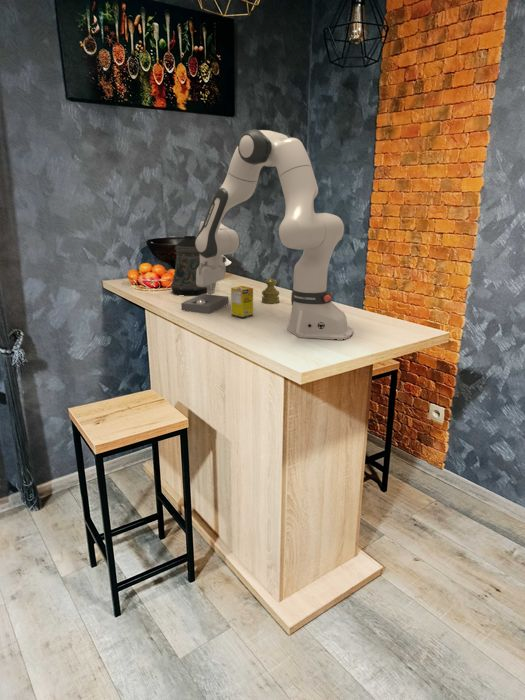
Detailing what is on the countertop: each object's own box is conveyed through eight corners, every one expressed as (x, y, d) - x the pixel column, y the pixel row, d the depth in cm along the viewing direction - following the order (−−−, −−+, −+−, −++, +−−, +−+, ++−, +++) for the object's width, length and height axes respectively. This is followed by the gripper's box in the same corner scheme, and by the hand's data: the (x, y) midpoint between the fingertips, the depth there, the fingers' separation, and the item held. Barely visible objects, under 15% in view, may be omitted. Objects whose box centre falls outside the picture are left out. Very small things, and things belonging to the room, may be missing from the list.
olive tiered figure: (281, 303, 207) (282, 279, 203) (265, 304, 204) (265, 280, 201) (275, 299, 213) (275, 276, 210) (259, 300, 211) (259, 277, 207)
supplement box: (253, 316, 186) (253, 287, 183) (242, 319, 182) (242, 290, 179) (242, 313, 190) (242, 285, 187) (231, 316, 186) (230, 287, 182)
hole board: (228, 303, 205) (228, 296, 204) (209, 313, 189) (208, 306, 188) (202, 300, 209) (202, 293, 208) (181, 310, 193) (181, 303, 192)
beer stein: (164, 294, 220) (161, 237, 212) (186, 286, 237) (184, 233, 229) (196, 297, 214) (195, 239, 206) (217, 289, 231) (216, 235, 223)
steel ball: (204, 311, 194) (208, 304, 197) (202, 304, 191) (206, 297, 194) (195, 310, 196) (199, 303, 198) (193, 303, 192) (196, 296, 195)
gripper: (206, 264, 188) (206, 299, 192) (228, 257, 206) (228, 289, 210) (191, 263, 190) (192, 298, 194) (214, 256, 208) (214, 288, 212)
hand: (211, 293), depth 202 cm, fingers closed
